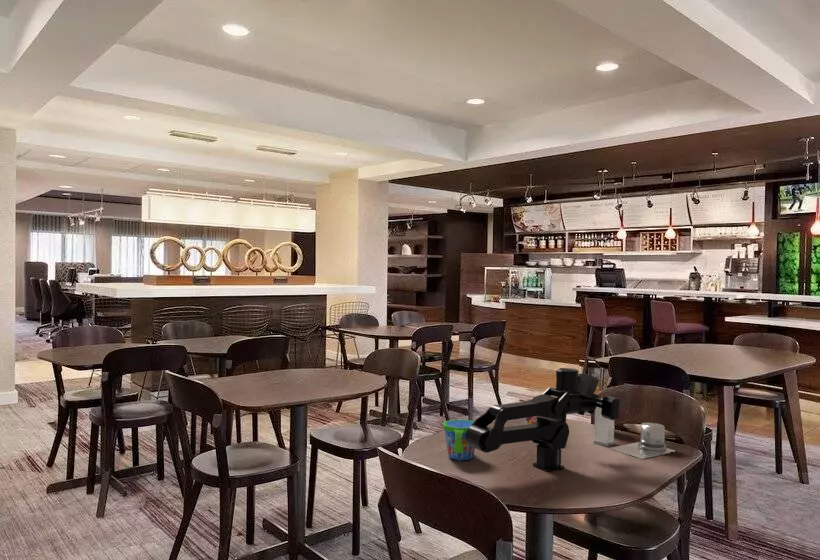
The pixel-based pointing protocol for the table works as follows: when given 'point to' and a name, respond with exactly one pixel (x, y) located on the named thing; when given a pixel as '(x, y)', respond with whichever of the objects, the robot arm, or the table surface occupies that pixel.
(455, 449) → the snack cup
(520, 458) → the table surface
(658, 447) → the duct flange
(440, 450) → the table surface
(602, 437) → the duct elbow
